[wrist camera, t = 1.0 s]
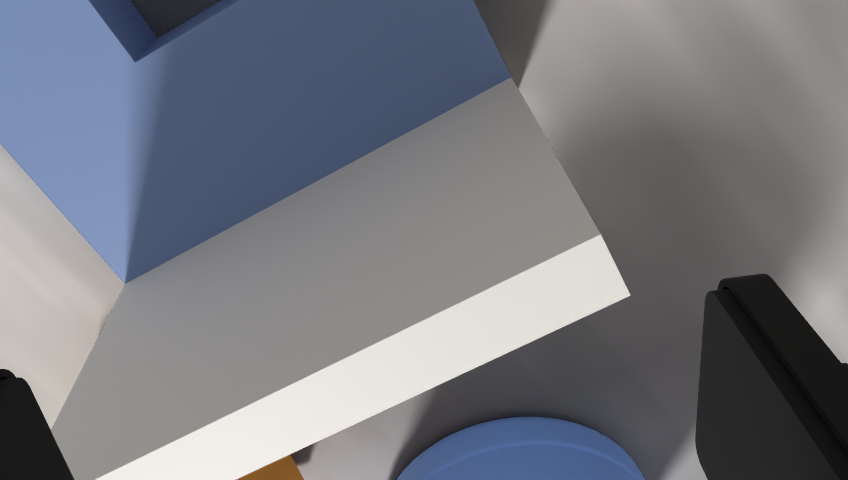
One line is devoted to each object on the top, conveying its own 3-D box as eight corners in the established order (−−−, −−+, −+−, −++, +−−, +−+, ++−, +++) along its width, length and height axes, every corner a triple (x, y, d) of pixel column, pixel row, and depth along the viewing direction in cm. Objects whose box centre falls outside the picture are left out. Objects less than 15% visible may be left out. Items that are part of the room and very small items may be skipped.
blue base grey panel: (249, -449, 24) (90, -816, 10) (517, 92, 33) (630, 295, 19) (-180, -142, 27) (-756, -96, 13) (172, 275, 36) (53, 564, 22)
